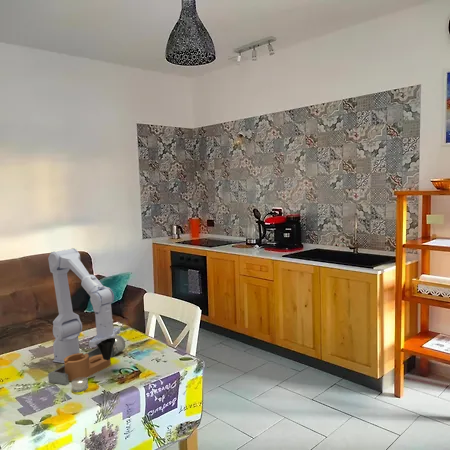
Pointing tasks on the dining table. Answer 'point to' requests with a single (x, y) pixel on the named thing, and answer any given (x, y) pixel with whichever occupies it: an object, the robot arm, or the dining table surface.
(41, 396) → the dining table surface
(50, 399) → the dining table surface
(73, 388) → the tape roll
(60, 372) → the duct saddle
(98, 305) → the robot arm
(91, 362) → the bracket
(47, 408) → the dining table surface
